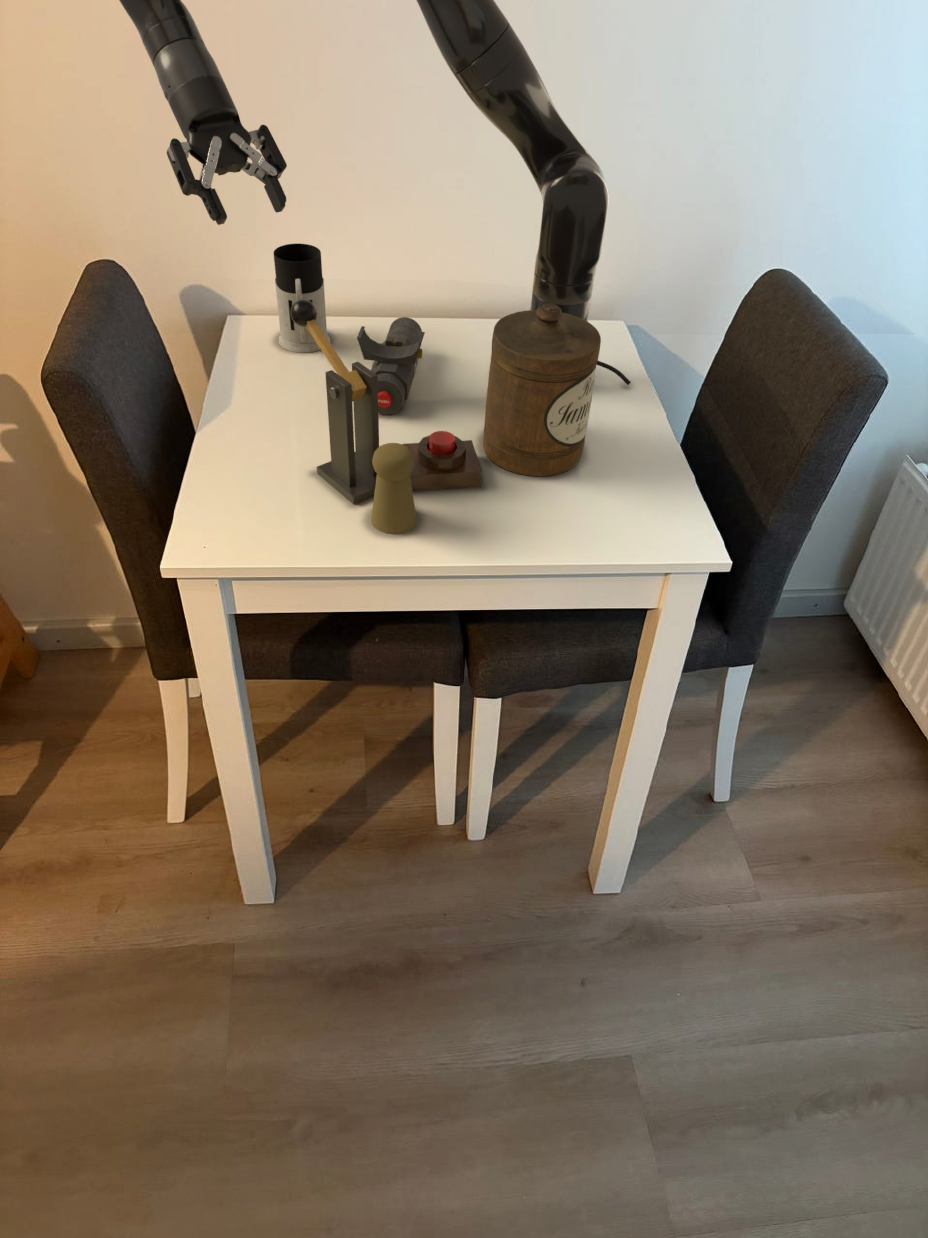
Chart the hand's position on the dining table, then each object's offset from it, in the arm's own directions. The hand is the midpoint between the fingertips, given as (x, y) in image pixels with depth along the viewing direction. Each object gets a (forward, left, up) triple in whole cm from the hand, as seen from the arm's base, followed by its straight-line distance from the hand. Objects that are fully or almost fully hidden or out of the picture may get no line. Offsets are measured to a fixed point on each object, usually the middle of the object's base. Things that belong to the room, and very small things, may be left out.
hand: (252, 215), depth 114 cm
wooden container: (-37, +13, -30) cm, 49 cm away
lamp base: (-23, +18, -29) cm, 41 cm away
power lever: (-8, +13, -13) cm, 20 cm away
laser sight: (-19, -8, -30) cm, 36 cm away
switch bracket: (-11, +18, -29) cm, 36 cm away
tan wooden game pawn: (-15, +28, -30) cm, 43 cm away
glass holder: (-5, -21, -30) cm, 37 cm away
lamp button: (-23, +18, -25) cm, 38 cm away
